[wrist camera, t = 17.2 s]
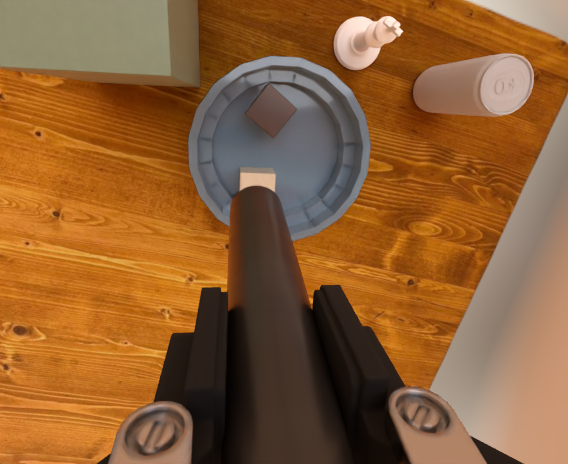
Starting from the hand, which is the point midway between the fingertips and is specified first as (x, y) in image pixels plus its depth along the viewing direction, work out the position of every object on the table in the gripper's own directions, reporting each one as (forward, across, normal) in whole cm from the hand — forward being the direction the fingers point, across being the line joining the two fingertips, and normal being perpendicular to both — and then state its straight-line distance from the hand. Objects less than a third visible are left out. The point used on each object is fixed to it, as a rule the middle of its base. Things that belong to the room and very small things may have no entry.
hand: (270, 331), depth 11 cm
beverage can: (+32, -20, -8) cm, 39 cm away
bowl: (+31, -3, -1) cm, 32 cm away
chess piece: (+32, -11, -12) cm, 36 cm away
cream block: (+31, -1, +2) cm, 31 cm away
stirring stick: (+8, 0, -1) cm, 9 cm away
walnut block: (+31, -2, -5) cm, 32 cm away
